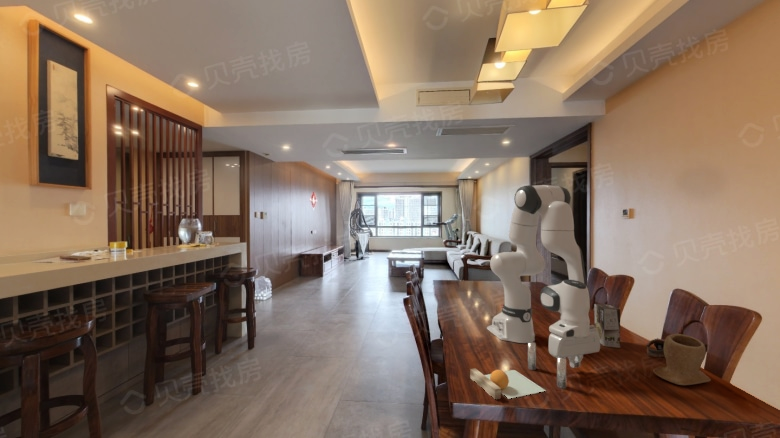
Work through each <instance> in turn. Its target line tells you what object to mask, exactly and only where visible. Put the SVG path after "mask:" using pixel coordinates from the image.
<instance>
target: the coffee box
mask: <svg viewBox="0 0 780 438" xmlns="http://www.w3.org/2000/svg"><path fill="white" fill-rule="evenodd" d="M594 326H595V327H596V328H597V333H598V334H599V339H600V345H602V346H603V347H607V348H608V347H609V348H619V349H620V348H621V308H618V307H616V306H614V305H611V304H609V303H594Z"/></svg>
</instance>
